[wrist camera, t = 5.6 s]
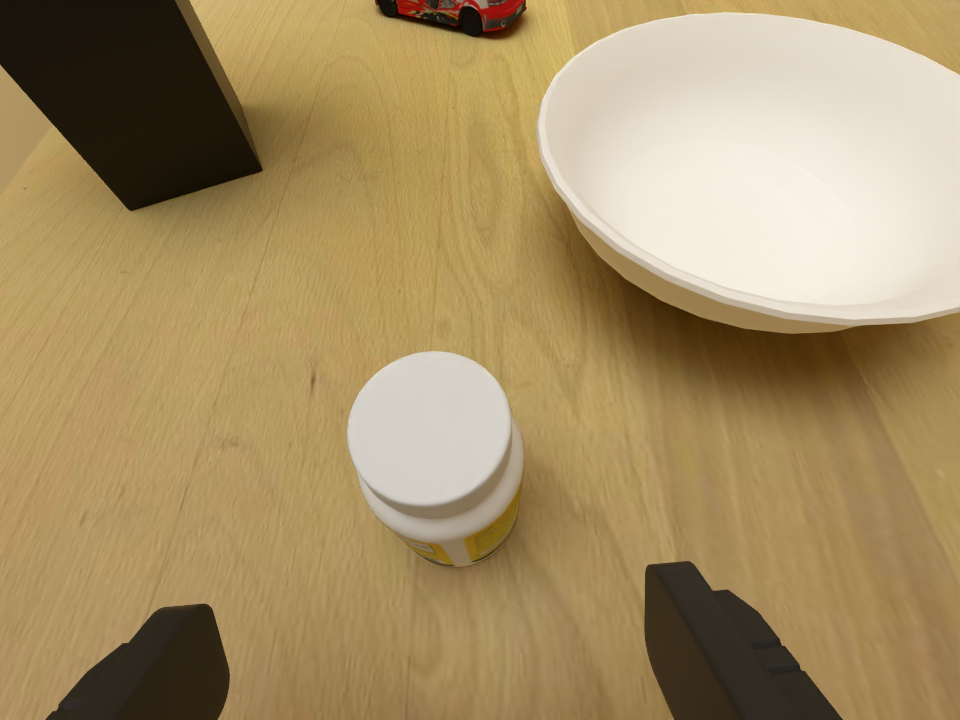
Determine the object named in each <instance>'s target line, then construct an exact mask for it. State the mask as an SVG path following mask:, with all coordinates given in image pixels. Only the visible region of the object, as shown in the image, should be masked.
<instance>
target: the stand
mask: <svg viewBox="0 0 960 720" xmlns="http://www.w3.org/2000/svg"><path fill="white" fill-rule="evenodd" d="M0 65H1V66H2V67H3V68H4V69H5V70H6V72H7V73H8V74H9V75H10V76H11V77H12V78H13V79H14V81H15V82H16V83H17V84H18V85H19V86H20V88H21V89H22V90H23V91H24V92H25V93H26V94H27V95H28V97H29V98H30V99H31V100H32V101H33V102H34V103H35V104H36V106H37V107H38V108H39V109H40V110H41V111H42V112H43V114H44V115H45V116H46V117H47V118H48V119H49V120H50V121H51V123H52V124H53V125H54V126H55V127H56V128H57V129H58V130H59V132H60V133H61V134H62V135H63V136H64V137H65V138H66V139H67V141H68V142H69V143H70V144H71V145H72V146H73V147H74V149H75V150H76V151H77V152H78V153H79V154H80V155H81V156H82V158H83V159H84V160H85V161H86V162H87V163H88V164H89V165H90V167H91V168H92V169H93V170H94V171H95V172H96V173H97V174H98V176H99V177H100V178H101V179H102V180H103V181H104V182H105V184H106V185H107V186H108V187H109V188H110V189H111V190H112V191H113V193H114V194H115V195H116V196H117V197H118V198H119V199H120V200H121V202H122V203H123V204H124V205H125V206H126V207H127V208H128V209H129V210H134V209H137V208H140V207H143V206H147V205H150V204H153V203H157V202H160V201H163V200H166V199H170V198H173V197H176V196H180V195H183V194H186V193H189V192H193V191H196V190H199V189H203V188H206V187H209V186H212V185H216V184H219V183H222V182H226V181H229V180H232V179H235V178H239V177H242V176H245V175H249V174H252V173H255V172H258V171H262V167H261V164H260V161H259V158H258V155H257V152H256V149H255V146H254V143H253V140H252V137H251V134H250V131H249V128H248V125H247V122H246V119H245V116H244V113H243V110H242V107H241V104H240V102H239V100H238V98H237V96H236V94H235V92H234V90H233V88H232V86H231V84H230V82H229V80H228V78H227V76H226V74H225V72H224V70H223V68H222V66H221V64H220V62H219V60H218V58H217V56H216V54H215V51H214V49H213V47H212V45H211V43H210V41H209V39H208V37H207V35H206V33H205V31H204V29H203V27H202V25H201V23H200V21H199V19H198V17H197V15H196V13H195V11H194V9H193V7H192V5H191V3H190V1H189V0H0Z"/></svg>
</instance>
